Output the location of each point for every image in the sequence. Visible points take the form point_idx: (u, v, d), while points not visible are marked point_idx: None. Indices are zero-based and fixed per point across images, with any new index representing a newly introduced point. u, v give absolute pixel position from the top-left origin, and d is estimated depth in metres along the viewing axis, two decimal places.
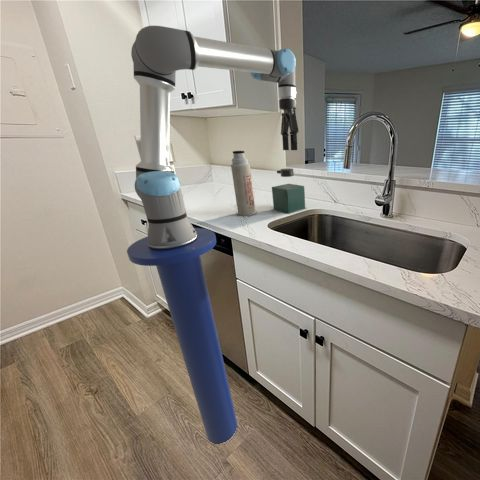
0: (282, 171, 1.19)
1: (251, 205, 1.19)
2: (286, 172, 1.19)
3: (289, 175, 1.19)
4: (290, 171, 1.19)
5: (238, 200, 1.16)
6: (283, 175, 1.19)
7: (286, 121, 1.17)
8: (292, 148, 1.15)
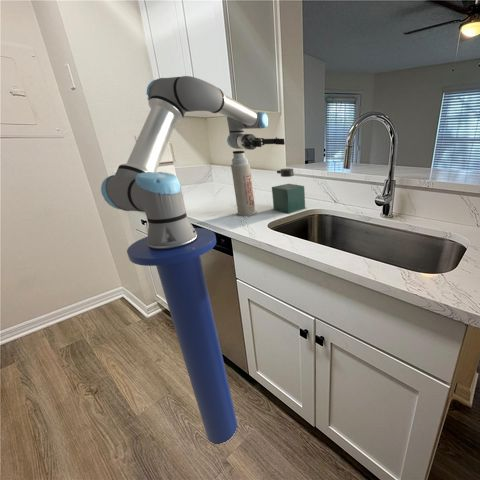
0: (282, 171, 1.19)
1: (251, 205, 1.19)
2: (286, 172, 1.19)
3: (289, 175, 1.19)
4: (290, 171, 1.19)
5: (238, 200, 1.16)
6: (283, 175, 1.19)
7: (257, 140, 1.29)
8: None
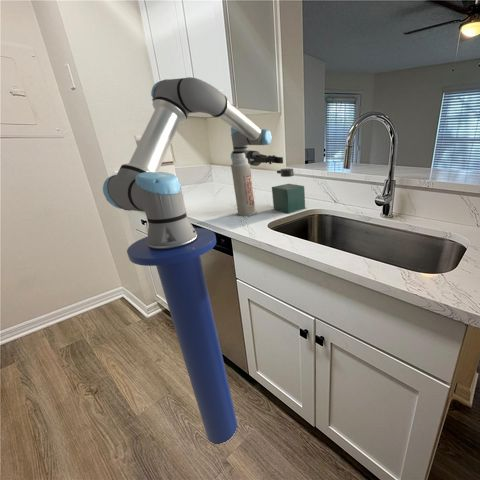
0: (282, 171, 1.19)
1: (251, 205, 1.19)
2: (286, 172, 1.19)
3: (289, 175, 1.19)
4: (290, 171, 1.19)
5: (238, 200, 1.16)
6: (283, 175, 1.19)
7: (262, 156, 1.30)
8: None
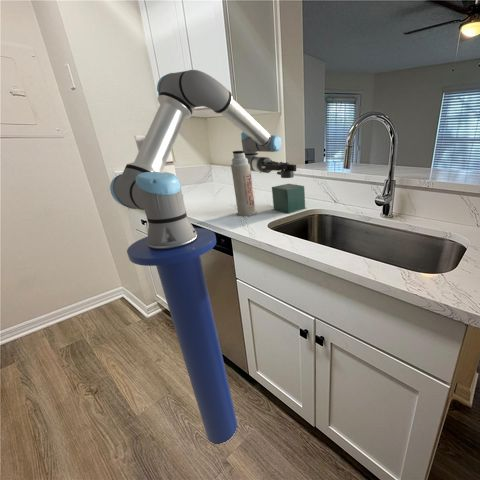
0: (282, 172, 1.19)
1: (251, 205, 1.19)
2: (286, 173, 1.19)
3: (289, 176, 1.20)
4: (290, 172, 1.19)
5: (238, 200, 1.16)
6: (283, 176, 1.20)
7: None
8: None
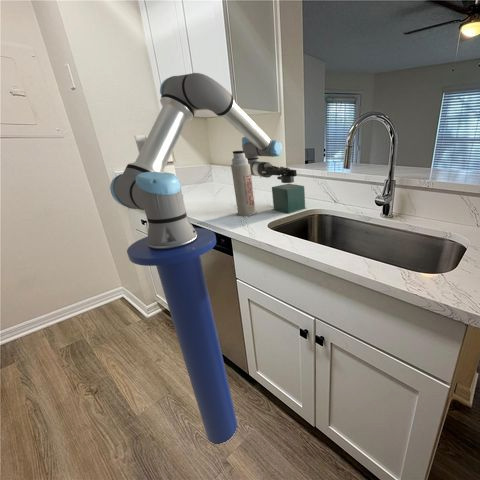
0: (282, 177, 1.20)
1: (251, 205, 1.19)
2: (286, 178, 1.20)
3: (289, 181, 1.20)
4: (290, 177, 1.20)
5: (238, 200, 1.16)
6: (283, 181, 1.21)
7: (274, 168, 1.27)
8: None
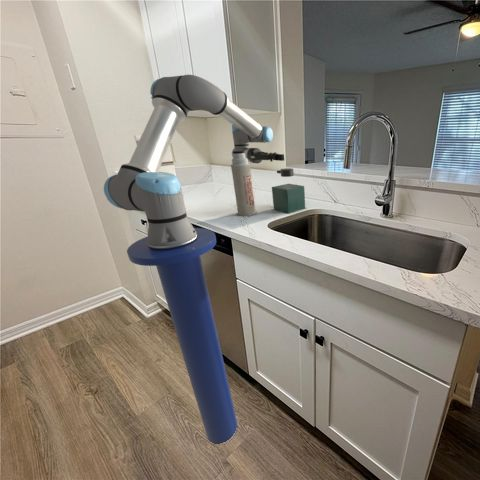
0: (282, 171, 1.19)
1: (251, 205, 1.19)
2: (286, 172, 1.19)
3: (289, 175, 1.19)
4: (290, 171, 1.19)
5: (238, 200, 1.16)
6: (283, 175, 1.19)
7: (263, 154, 1.29)
8: None
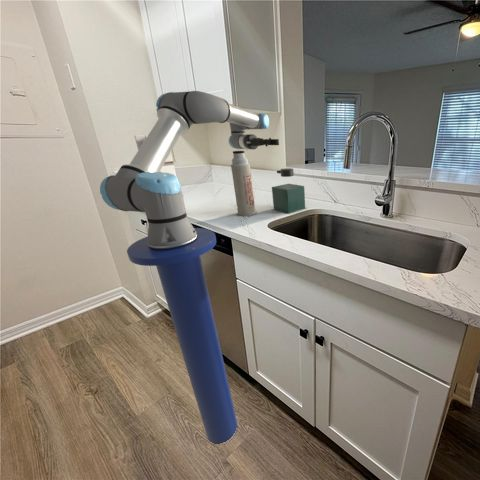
0: (282, 171, 1.19)
1: (251, 205, 1.19)
2: (286, 172, 1.19)
3: (289, 175, 1.19)
4: (290, 171, 1.19)
5: (238, 200, 1.16)
6: (283, 175, 1.19)
7: (259, 139, 1.34)
8: None
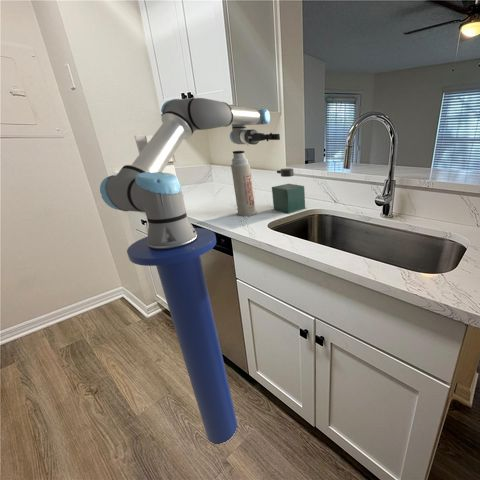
0: (282, 171, 1.19)
1: (251, 205, 1.19)
2: (286, 172, 1.19)
3: (289, 175, 1.19)
4: (290, 171, 1.19)
5: (238, 200, 1.16)
6: (283, 175, 1.19)
7: (260, 134, 1.35)
8: None
